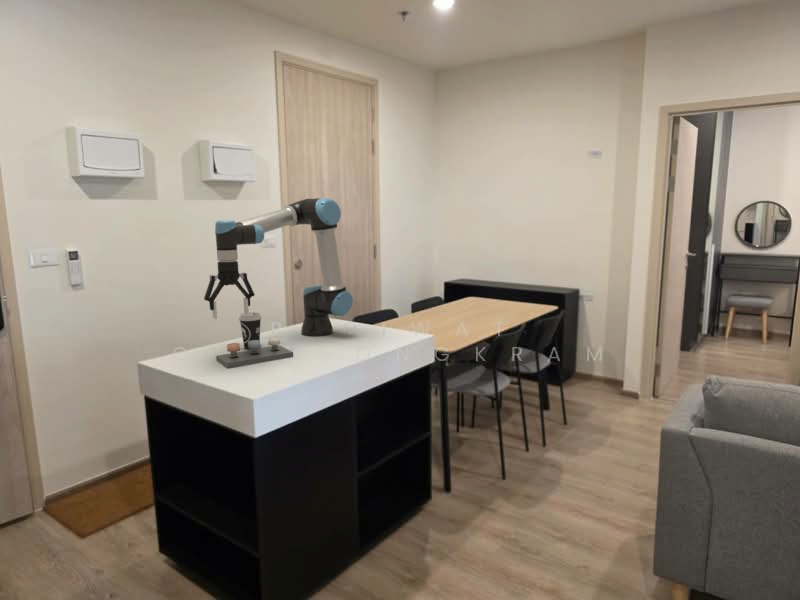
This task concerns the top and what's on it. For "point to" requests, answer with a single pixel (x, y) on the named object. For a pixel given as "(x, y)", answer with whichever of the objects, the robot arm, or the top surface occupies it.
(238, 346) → the button terracotta
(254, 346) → the button blue
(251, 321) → the coffee cup
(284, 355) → the panel
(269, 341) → the button cream
